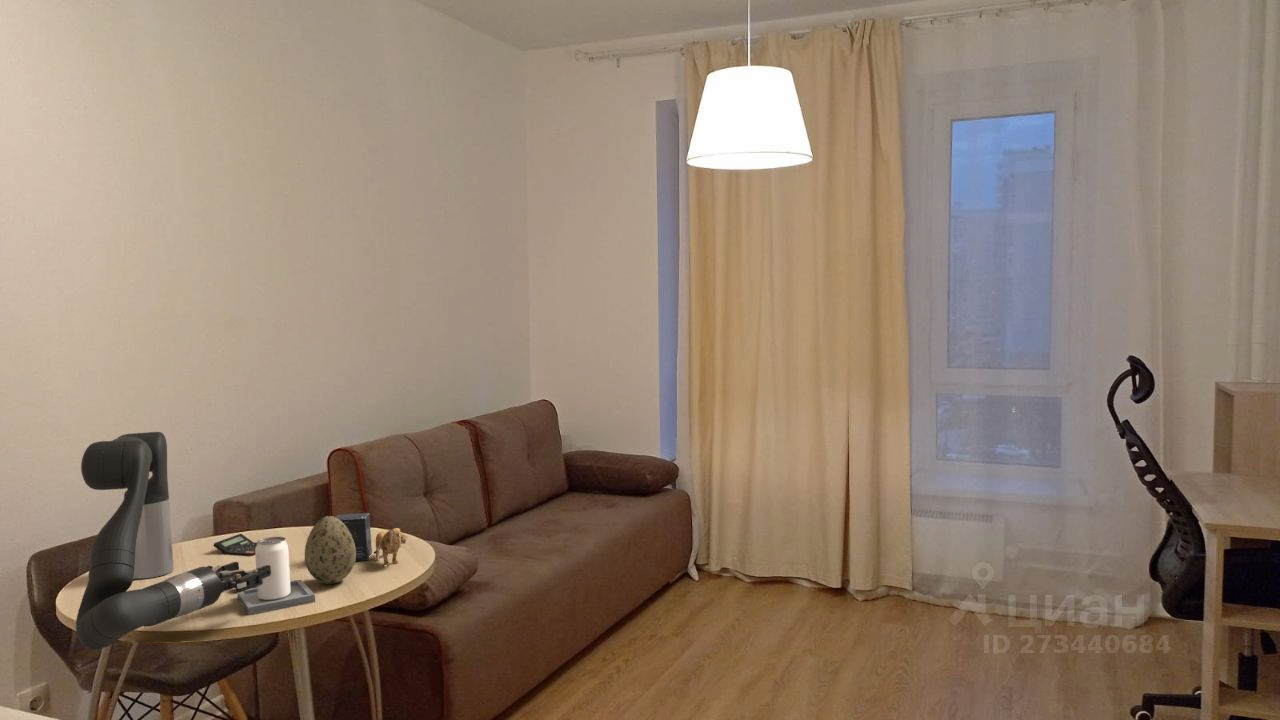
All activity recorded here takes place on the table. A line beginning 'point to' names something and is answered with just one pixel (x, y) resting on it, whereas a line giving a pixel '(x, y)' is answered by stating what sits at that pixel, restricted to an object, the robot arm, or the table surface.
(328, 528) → the decorative egg
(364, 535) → the box
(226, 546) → the calculator
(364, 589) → the table surface
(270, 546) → the can
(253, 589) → the tray
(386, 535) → the lion figurine
